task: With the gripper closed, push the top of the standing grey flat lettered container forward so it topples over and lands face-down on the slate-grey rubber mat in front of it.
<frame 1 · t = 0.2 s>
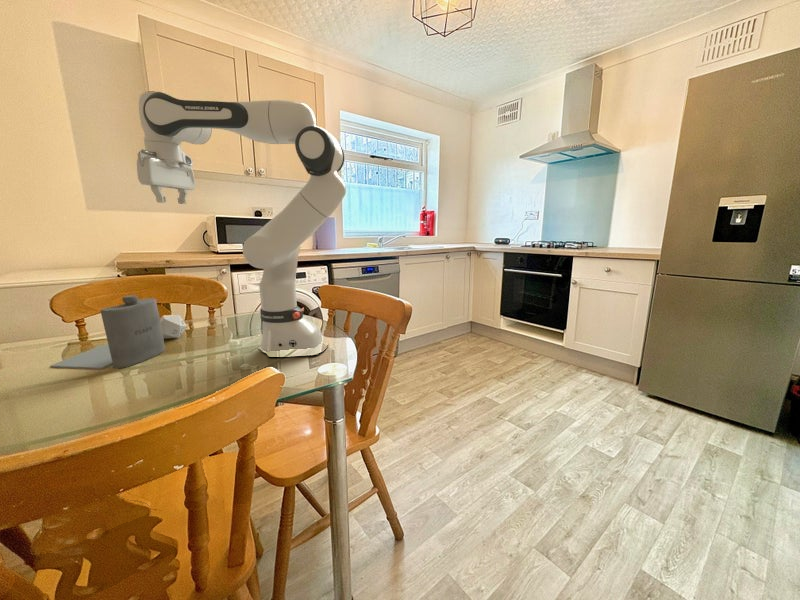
hand: (172, 203, 99), 47 cm above the table, tool pointing down, fingers open, 8 cm apart
grey flat lettered container: (142, 358, 100), on the table
die: (172, 337, 118), on the table
mat: (102, 356, 101), on the table
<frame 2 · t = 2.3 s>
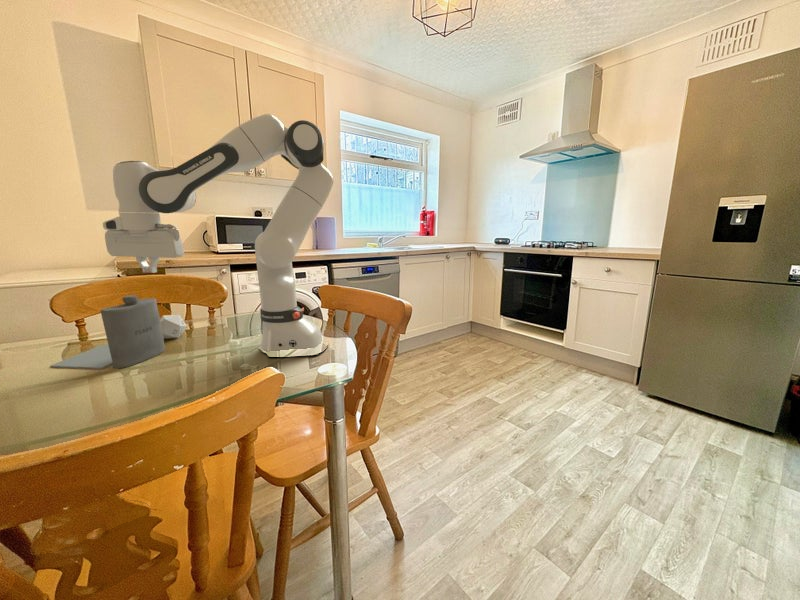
hand: (150, 272, 93), 27 cm above the table, tool pointing down, fingers closed
nothing on the table moved.
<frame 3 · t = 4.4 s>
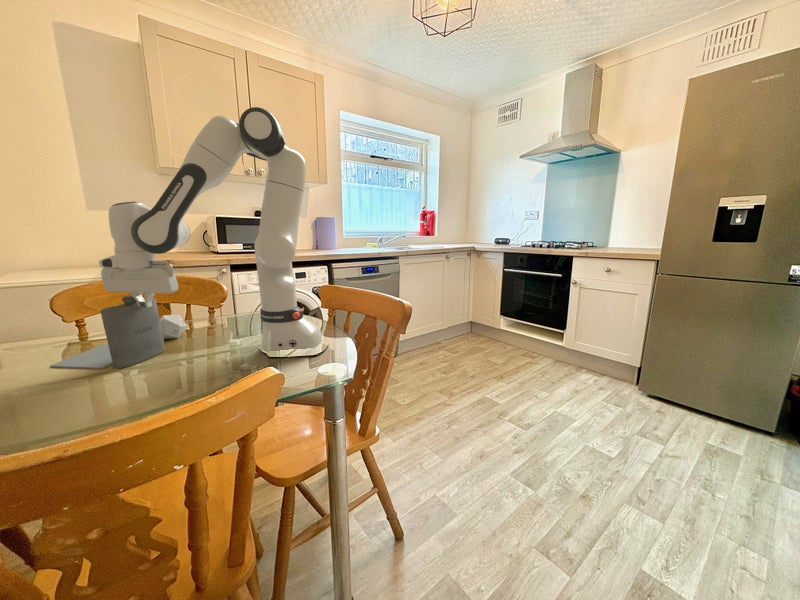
hand: (145, 306, 96), 17 cm above the table, tool pointing down, fingers closed
grey flat lettered container: (142, 358, 100), on the table, touching gripper
everything else where it was.
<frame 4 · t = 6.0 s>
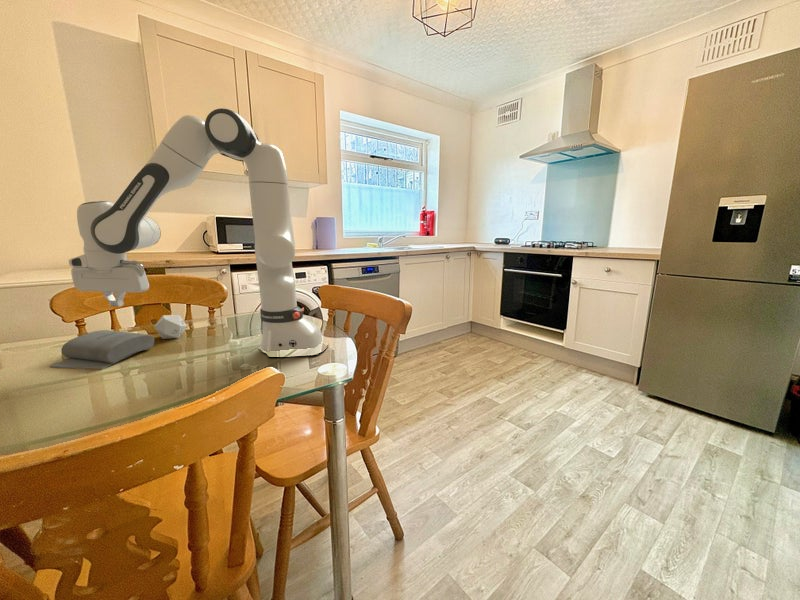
hand: (116, 305, 96), 17 cm above the table, tool pointing down, fingers closed
grey flat lettered container: (132, 346, 100), point 3 cm above the table, touching mat
everything else where it was.
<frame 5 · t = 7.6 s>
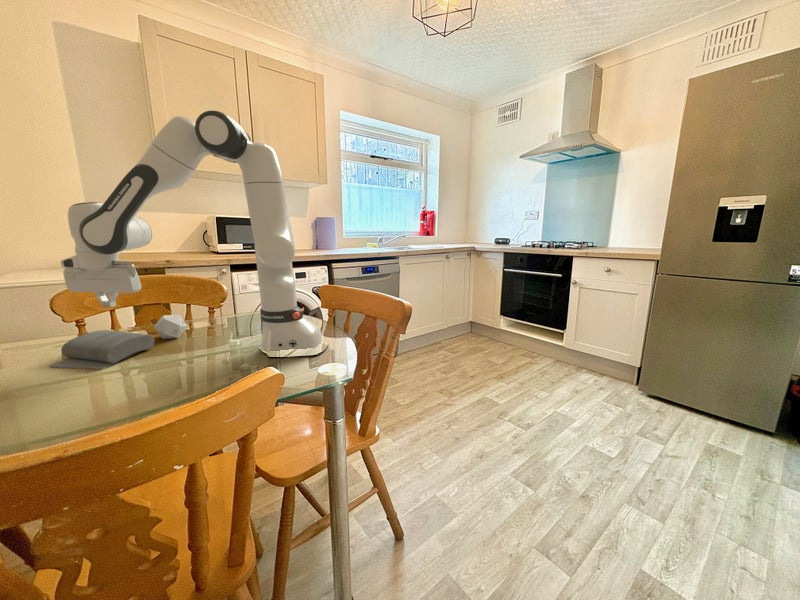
hand: (109, 306, 96), 17 cm above the table, tool pointing down, fingers closed
nothing on the table moved.
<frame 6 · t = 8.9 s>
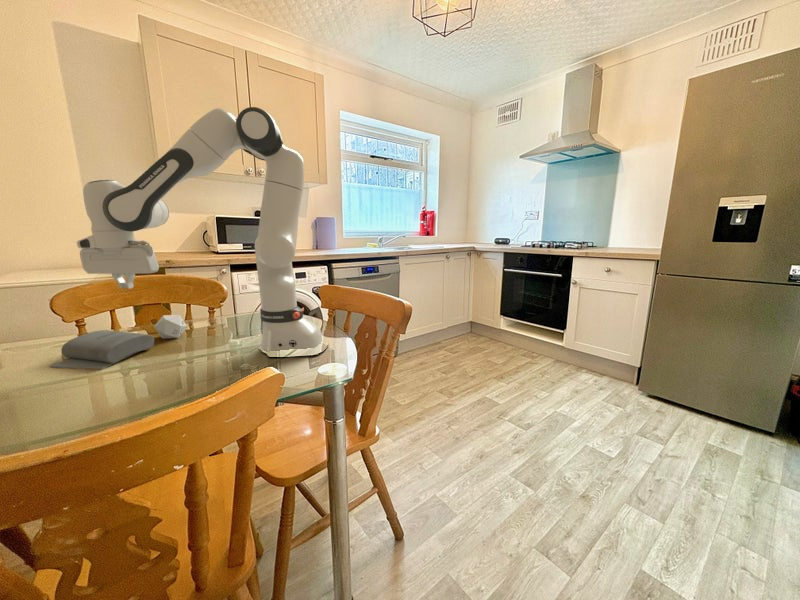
hand: (126, 288, 95), 22 cm above the table, tool pointing down, fingers closed
nothing on the table moved.
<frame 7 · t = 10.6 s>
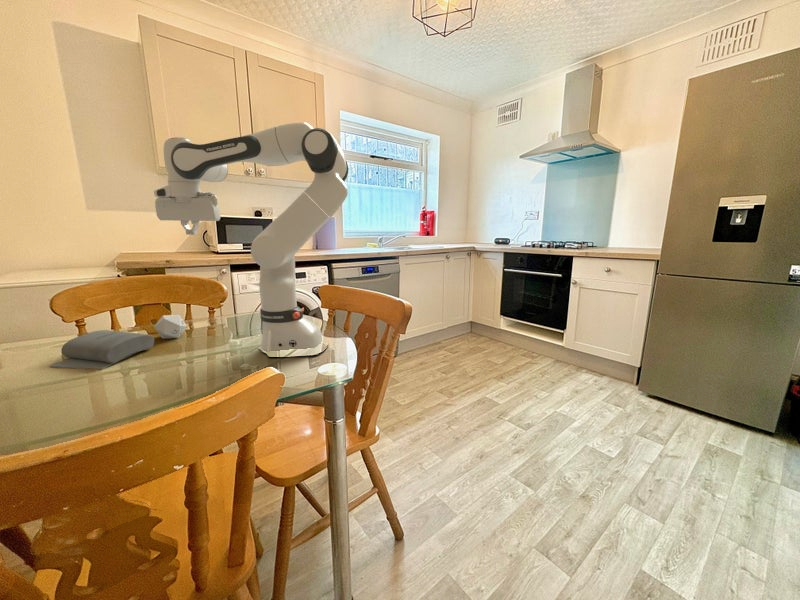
hand: (192, 234, 110), 37 cm above the table, tool pointing down, fingers closed
nothing on the table moved.
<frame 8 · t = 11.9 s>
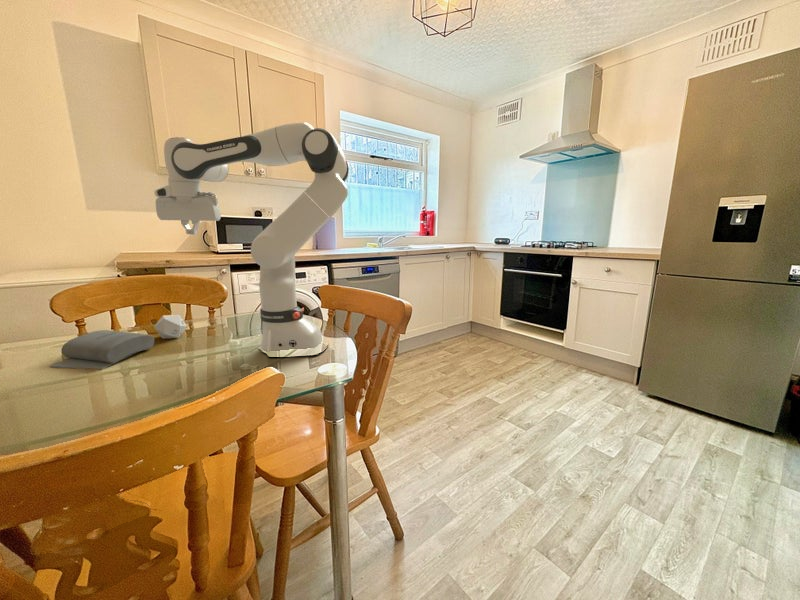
hand: (192, 234, 110), 37 cm above the table, tool pointing down, fingers closed
nothing on the table moved.
at the end: grey flat lettered container tilted 90°; grey flat lettered container inside the target area (6.1 cm from its centre), point 3.4 cm above the table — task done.
